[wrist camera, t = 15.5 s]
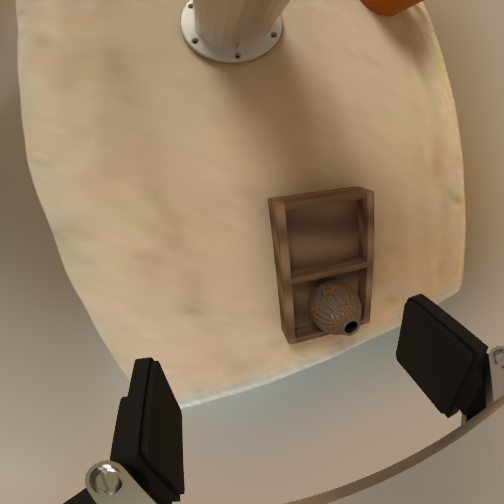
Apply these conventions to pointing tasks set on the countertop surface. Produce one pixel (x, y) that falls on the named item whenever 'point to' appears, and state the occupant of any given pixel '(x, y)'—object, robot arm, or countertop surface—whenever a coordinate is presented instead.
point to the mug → (389, 6)
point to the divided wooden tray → (321, 251)
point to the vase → (335, 308)
